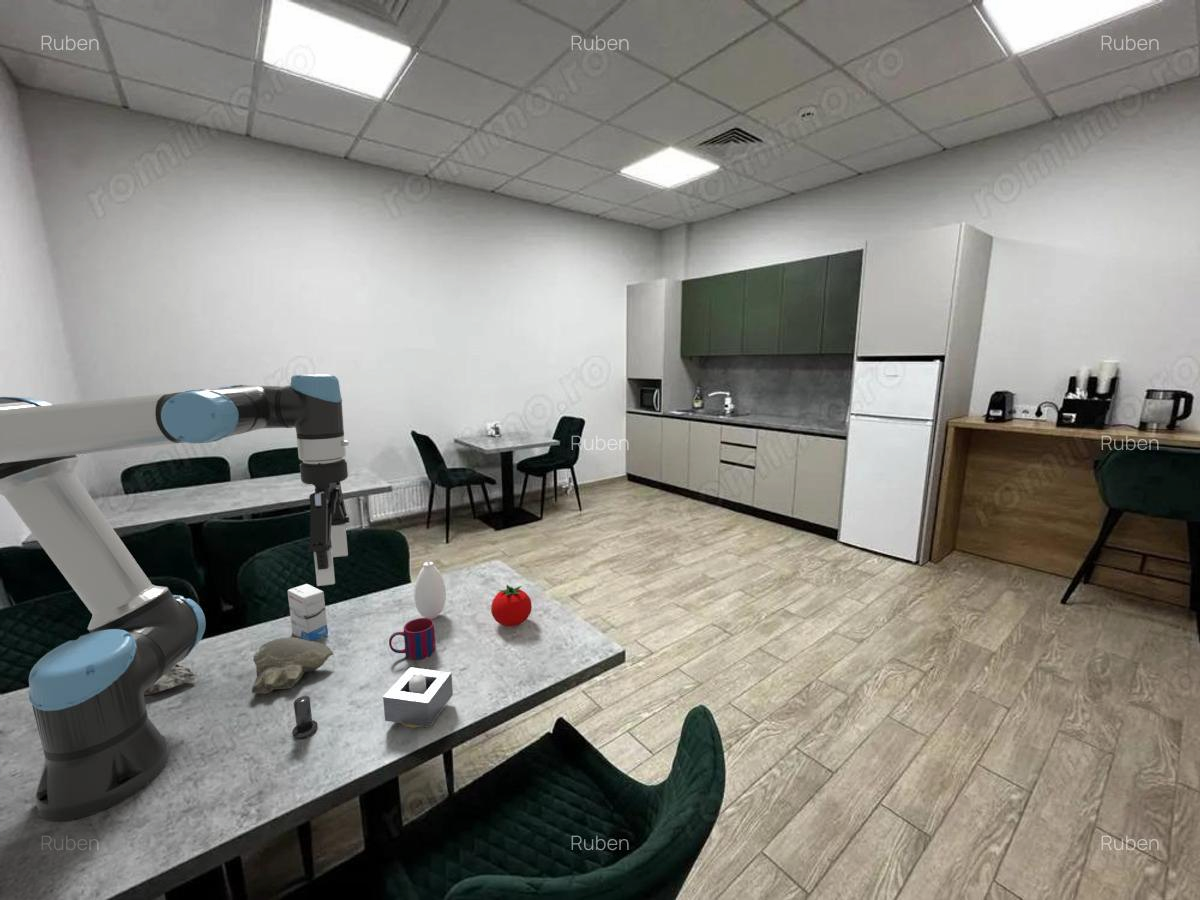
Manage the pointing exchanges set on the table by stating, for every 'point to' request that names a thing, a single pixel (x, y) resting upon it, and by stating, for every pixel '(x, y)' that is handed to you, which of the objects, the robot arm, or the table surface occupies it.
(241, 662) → the table surface
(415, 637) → the mug
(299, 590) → the ink box
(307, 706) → the dark grey round-topped piece
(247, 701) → the table surface
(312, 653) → the fossil
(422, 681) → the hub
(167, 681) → the mineral rock
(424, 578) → the white vase
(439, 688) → the grey square bin
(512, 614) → the tomato
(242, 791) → the table surface
